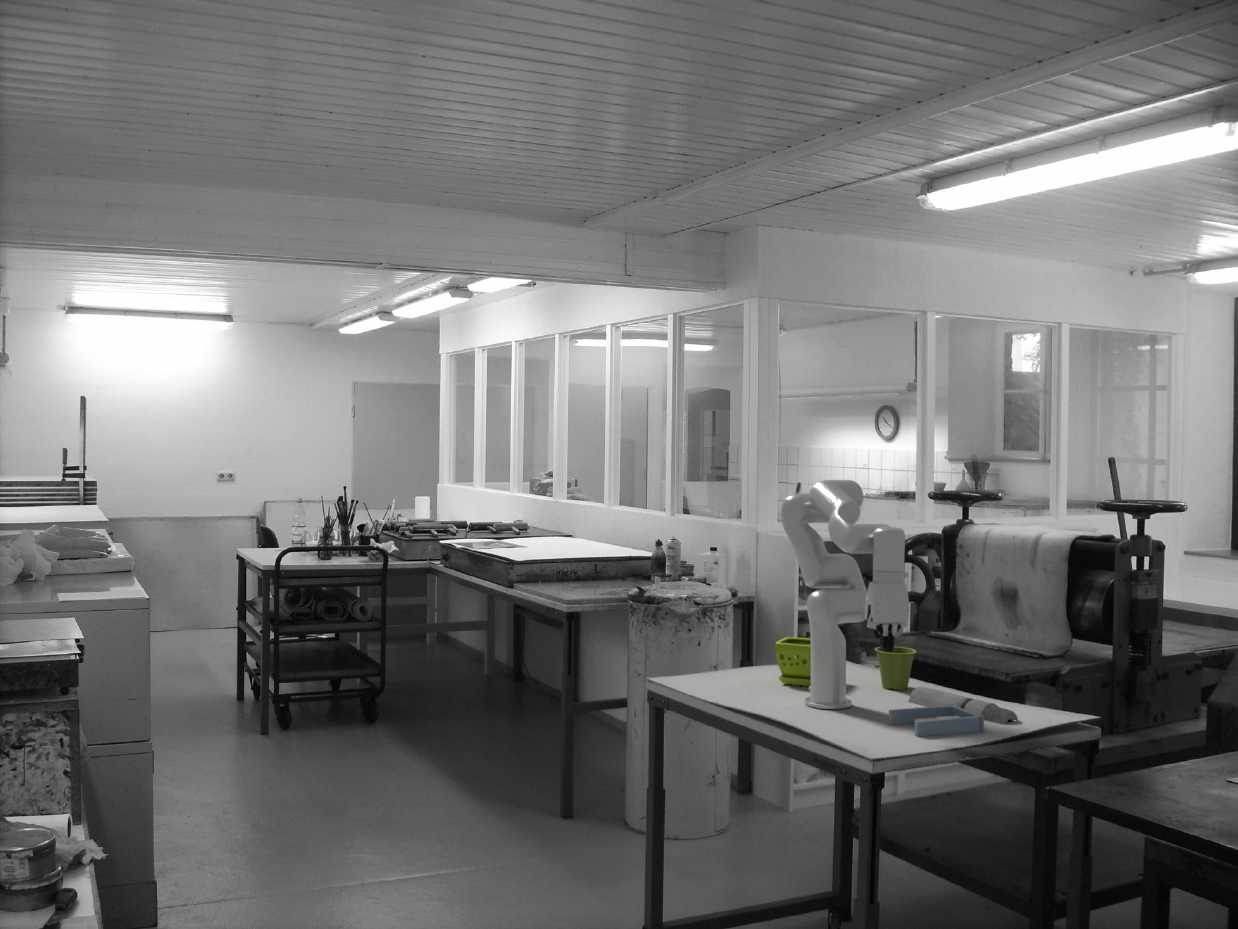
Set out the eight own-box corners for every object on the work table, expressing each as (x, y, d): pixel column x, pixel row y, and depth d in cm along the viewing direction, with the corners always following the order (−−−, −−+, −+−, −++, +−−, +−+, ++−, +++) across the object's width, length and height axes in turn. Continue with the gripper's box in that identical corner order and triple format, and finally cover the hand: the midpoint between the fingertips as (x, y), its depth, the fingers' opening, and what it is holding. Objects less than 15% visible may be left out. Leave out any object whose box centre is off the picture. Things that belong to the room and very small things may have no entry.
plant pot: (899, 694, 305) (899, 654, 305) (866, 687, 314) (866, 649, 314) (924, 688, 312) (924, 650, 312) (891, 682, 322) (891, 644, 322)
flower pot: (819, 689, 311) (819, 646, 311) (773, 685, 317) (773, 642, 317) (831, 680, 324) (831, 639, 324) (787, 677, 330) (787, 635, 330)
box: (889, 723, 271) (889, 710, 271) (953, 718, 276) (953, 705, 276) (917, 736, 258) (917, 722, 258) (983, 731, 263) (983, 717, 263)
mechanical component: (930, 684, 300) (1021, 705, 274) (930, 700, 300) (1021, 722, 274) (908, 688, 295) (998, 709, 270) (908, 704, 295) (998, 726, 270)
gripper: (907, 574, 269) (905, 646, 270) (853, 576, 265) (852, 649, 265) (923, 578, 262) (921, 652, 262) (868, 580, 258) (867, 656, 258)
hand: (886, 651), depth 264 cm, fingers closed
